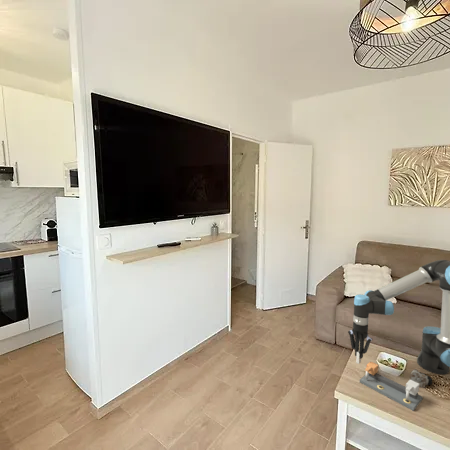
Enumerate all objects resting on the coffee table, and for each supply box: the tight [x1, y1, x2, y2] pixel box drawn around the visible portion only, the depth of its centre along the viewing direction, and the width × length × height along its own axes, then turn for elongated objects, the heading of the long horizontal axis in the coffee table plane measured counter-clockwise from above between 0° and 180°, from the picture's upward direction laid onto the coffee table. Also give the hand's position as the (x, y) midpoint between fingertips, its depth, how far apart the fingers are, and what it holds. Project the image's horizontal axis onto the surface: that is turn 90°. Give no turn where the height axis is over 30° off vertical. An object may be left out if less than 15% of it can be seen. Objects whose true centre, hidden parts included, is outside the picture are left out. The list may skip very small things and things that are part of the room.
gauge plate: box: [359, 372, 424, 412], centre depth 139 cm, size 12×25×8 cm, turn 38°
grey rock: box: [409, 368, 434, 389], centre depth 146 cm, size 7×11×10 cm
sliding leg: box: [364, 361, 379, 379], centre depth 147 cm, size 9×4×5 cm, turn 128°
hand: (358, 362), depth 154 cm, fingers closed
